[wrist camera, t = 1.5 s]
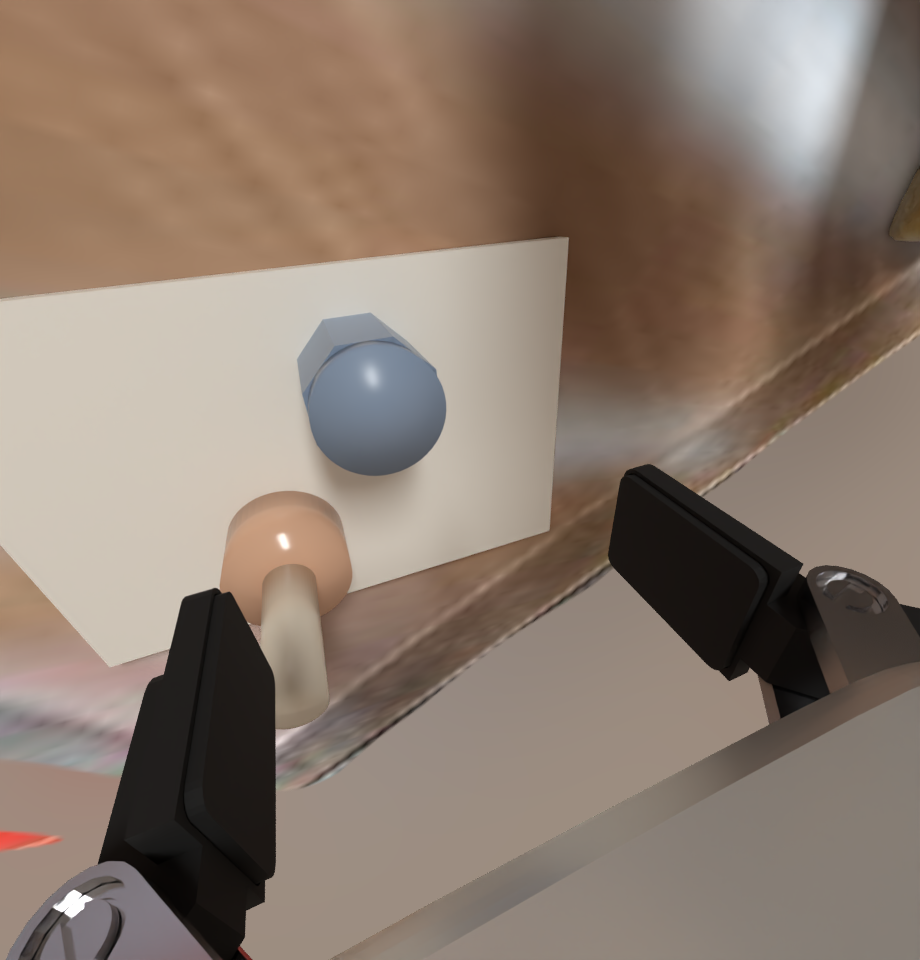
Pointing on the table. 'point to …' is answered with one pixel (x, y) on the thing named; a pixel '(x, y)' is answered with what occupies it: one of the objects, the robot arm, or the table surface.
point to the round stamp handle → (289, 591)
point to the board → (264, 425)
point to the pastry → (908, 214)
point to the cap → (369, 396)
